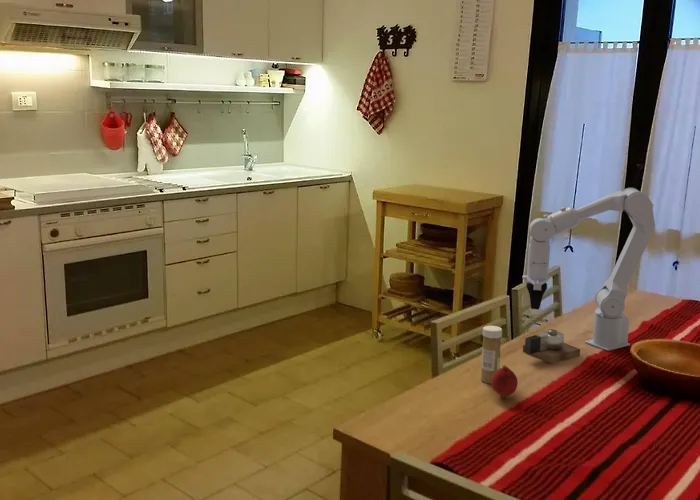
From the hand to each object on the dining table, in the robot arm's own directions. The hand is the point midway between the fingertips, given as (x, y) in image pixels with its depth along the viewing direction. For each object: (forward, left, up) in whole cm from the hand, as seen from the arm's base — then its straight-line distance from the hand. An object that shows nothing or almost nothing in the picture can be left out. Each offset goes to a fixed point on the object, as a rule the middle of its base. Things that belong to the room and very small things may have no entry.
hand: (535, 308), depth 196 cm
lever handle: (+7, +11, -7) cm, 15 cm away
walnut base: (+4, +11, -9) cm, 15 cm away
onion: (+35, +25, -10) cm, 44 cm away
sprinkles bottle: (+31, +16, -10) cm, 36 cm away
